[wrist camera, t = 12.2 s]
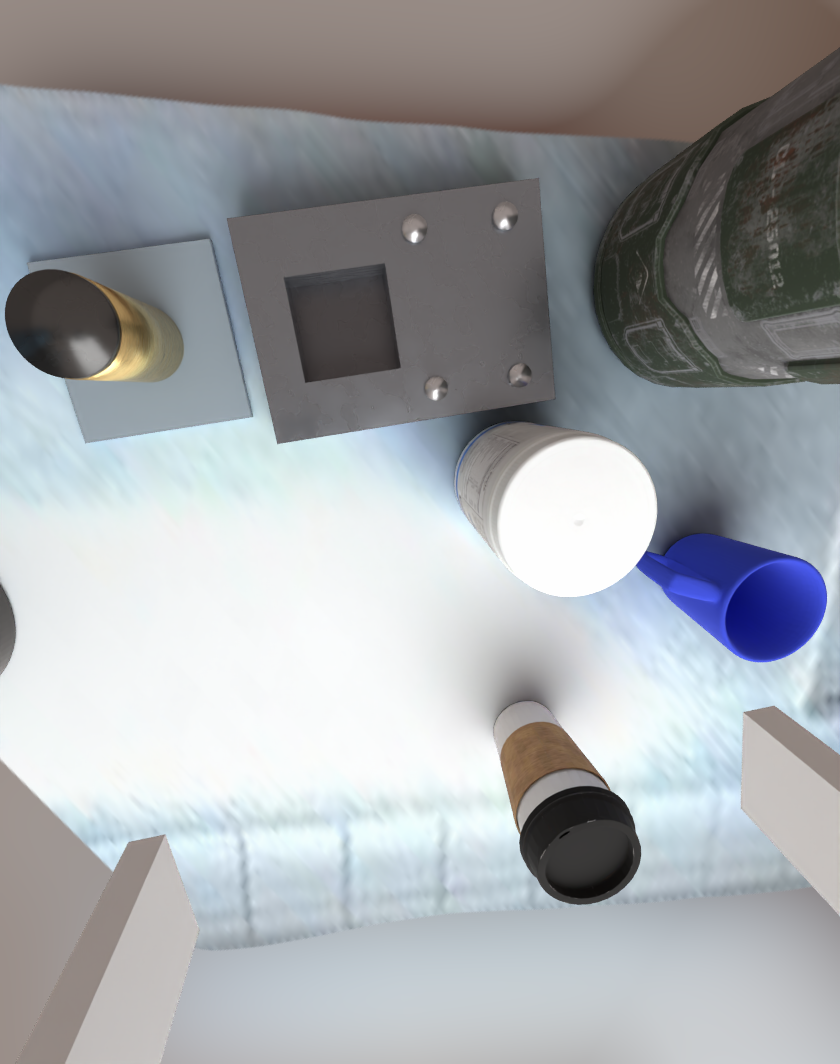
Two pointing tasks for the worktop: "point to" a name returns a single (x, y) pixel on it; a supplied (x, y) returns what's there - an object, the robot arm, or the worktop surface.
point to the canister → (734, 250)
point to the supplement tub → (557, 504)
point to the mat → (203, 320)
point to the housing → (398, 307)
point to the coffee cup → (564, 809)
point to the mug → (742, 593)
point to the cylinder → (90, 330)
